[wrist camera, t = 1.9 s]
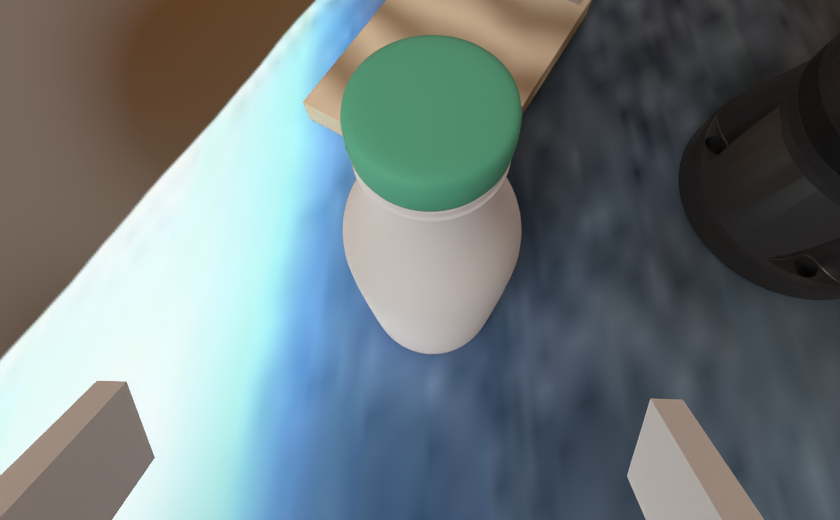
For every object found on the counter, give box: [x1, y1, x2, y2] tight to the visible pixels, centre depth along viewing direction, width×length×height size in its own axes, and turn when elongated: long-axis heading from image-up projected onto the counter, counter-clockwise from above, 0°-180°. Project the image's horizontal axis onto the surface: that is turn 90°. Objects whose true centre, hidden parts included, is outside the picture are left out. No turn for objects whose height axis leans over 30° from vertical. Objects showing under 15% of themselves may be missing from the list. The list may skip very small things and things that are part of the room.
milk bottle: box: [340, 35, 522, 354], centre depth 20 cm, size 8×8×20 cm
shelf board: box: [303, 0, 592, 136], centre depth 35 cm, size 20×14×2 cm
